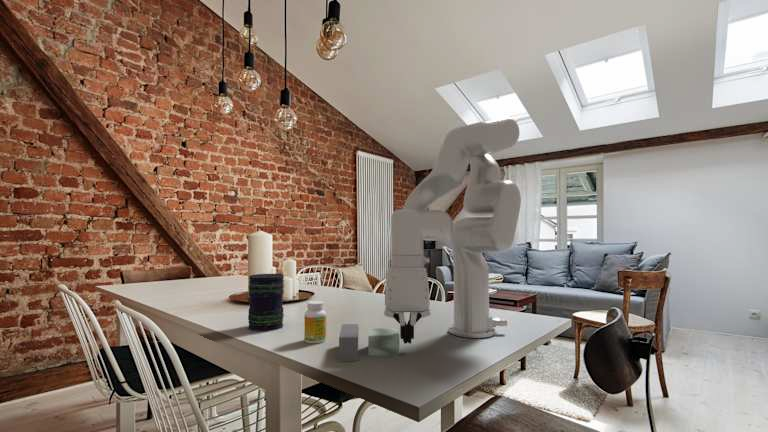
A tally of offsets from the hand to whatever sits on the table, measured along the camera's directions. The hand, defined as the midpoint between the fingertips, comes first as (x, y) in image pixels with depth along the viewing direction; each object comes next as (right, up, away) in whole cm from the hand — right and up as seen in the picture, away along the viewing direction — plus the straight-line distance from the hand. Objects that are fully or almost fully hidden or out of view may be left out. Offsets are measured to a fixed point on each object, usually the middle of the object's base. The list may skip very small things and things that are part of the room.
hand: (407, 341), depth 90 cm
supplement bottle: (-23, -3, +9) cm, 25 cm away
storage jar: (-40, -3, +23) cm, 46 cm away
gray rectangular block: (-13, -2, -1) cm, 14 cm away
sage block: (-5, -3, +1) cm, 6 cm away
